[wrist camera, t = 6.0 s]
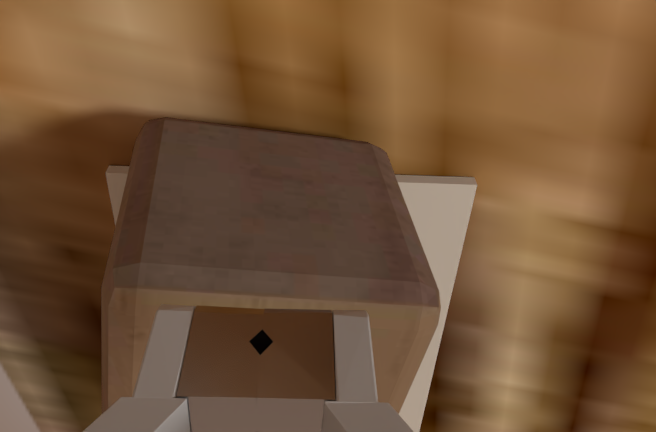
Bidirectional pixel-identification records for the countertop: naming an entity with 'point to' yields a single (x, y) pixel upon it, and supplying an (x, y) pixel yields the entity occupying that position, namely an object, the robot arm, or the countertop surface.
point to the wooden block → (264, 242)
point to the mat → (436, 239)
